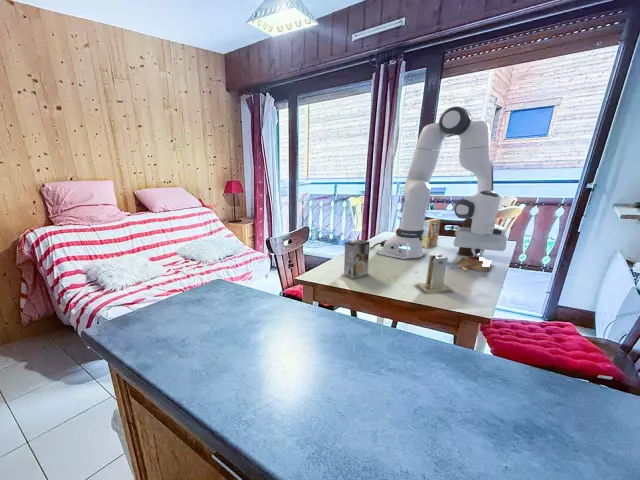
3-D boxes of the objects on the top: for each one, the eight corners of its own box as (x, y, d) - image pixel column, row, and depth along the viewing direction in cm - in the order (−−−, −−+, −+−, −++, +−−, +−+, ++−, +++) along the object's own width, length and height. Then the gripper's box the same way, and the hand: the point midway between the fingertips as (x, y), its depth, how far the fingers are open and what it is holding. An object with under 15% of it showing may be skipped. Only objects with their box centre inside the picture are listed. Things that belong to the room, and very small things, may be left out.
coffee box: (357, 271, 157) (360, 239, 151) (367, 275, 152) (370, 241, 145) (343, 275, 153) (344, 242, 147) (352, 279, 148) (354, 245, 142)
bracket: (440, 284, 137) (446, 252, 131) (451, 291, 129) (457, 258, 124) (416, 285, 137) (421, 254, 132) (425, 293, 130) (430, 260, 124)
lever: (458, 269, 133) (461, 263, 132) (466, 273, 128) (470, 268, 127) (429, 260, 131) (432, 255, 131) (436, 264, 126) (439, 259, 125)
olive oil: (468, 258, 166) (478, 208, 156) (452, 252, 175) (460, 205, 166) (485, 255, 168) (496, 206, 158) (469, 250, 177) (478, 203, 168)
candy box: (430, 244, 193) (434, 218, 187) (437, 245, 189) (441, 219, 183) (420, 246, 189) (424, 220, 183) (426, 248, 186) (430, 221, 180)
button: (469, 261, 153) (470, 258, 153) (471, 259, 156) (471, 256, 155) (479, 263, 151) (479, 259, 150) (480, 260, 154) (480, 257, 153)
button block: (457, 267, 154) (459, 259, 153) (461, 261, 161) (462, 253, 160) (487, 271, 147) (489, 263, 146) (490, 265, 154) (492, 257, 153)
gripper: (454, 228, 152) (450, 256, 157) (509, 231, 139) (502, 262, 145) (457, 225, 156) (452, 253, 161) (510, 228, 144) (503, 258, 149)
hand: (476, 257), depth 153 cm, fingers closed, pressing on button
